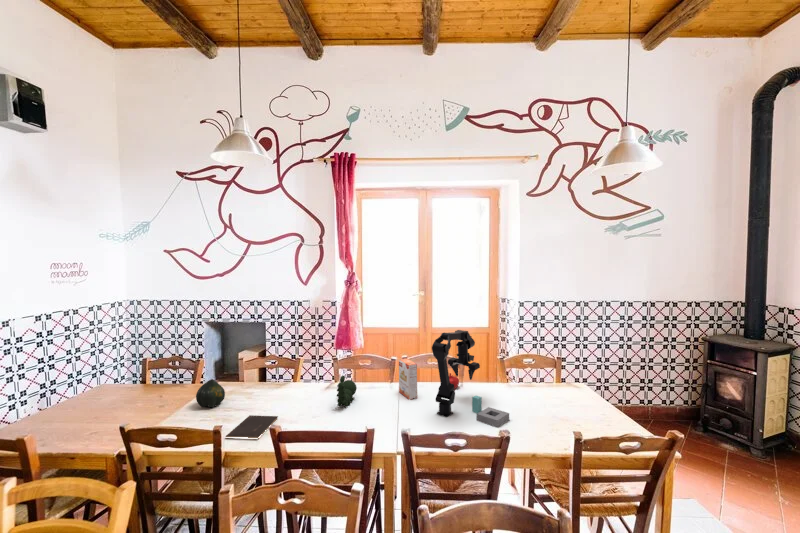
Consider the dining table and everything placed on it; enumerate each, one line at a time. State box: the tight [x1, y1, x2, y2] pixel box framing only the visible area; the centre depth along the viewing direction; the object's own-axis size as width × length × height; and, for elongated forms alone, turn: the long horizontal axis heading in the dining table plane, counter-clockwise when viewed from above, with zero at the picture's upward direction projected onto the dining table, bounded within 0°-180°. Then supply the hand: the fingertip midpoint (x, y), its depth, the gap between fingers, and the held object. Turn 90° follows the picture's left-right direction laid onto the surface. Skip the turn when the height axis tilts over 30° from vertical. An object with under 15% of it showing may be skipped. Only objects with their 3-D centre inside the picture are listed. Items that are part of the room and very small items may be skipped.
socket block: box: [475, 406, 510, 428], centre depth 204 cm, size 12×12×4 cm
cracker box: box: [398, 357, 418, 400], centre depth 239 cm, size 14×6×21 cm, turn 25°
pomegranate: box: [448, 372, 460, 390], centre depth 253 cm, size 10×10×9 cm
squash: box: [195, 378, 226, 408], centre depth 226 cm, size 14×15×15 cm
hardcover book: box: [225, 414, 279, 438], centre depth 196 cm, size 16×23×2 cm
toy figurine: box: [336, 375, 357, 407], centre depth 229 cm, size 9×19×25 cm
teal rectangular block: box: [471, 395, 483, 414], centre depth 215 cm, size 4×4×8 cm
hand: (464, 378), depth 230 cm, fingers open, 9 cm apart
